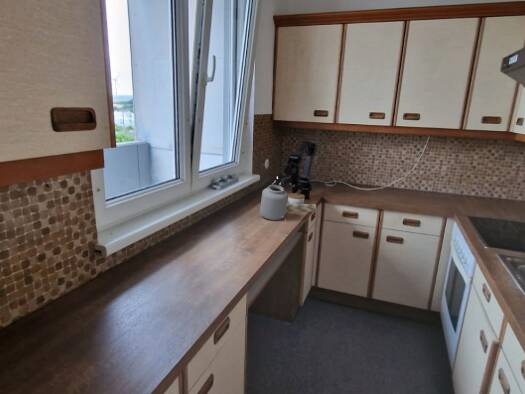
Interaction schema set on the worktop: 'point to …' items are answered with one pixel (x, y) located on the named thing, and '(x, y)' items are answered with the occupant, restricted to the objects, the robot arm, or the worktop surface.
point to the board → (300, 208)
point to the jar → (273, 202)
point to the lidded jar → (296, 198)
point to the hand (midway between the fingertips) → (293, 196)
